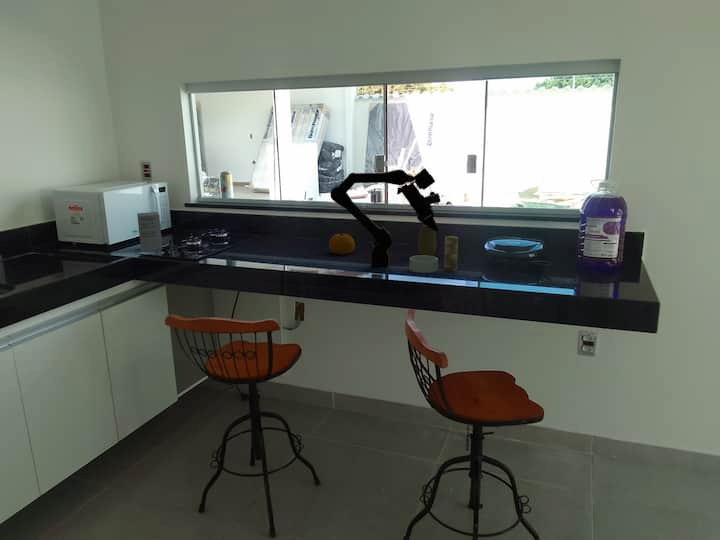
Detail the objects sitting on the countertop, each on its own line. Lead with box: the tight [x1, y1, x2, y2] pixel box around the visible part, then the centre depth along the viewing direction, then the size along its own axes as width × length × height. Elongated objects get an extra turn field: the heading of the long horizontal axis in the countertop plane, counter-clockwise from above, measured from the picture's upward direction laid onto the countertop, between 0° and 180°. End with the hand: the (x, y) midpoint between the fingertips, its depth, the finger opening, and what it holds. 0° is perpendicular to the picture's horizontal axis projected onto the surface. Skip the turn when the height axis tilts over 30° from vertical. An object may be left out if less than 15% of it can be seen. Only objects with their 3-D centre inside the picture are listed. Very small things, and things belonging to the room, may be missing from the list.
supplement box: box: [136, 211, 164, 252], centre depth 259 cm, size 10×9×17 cm
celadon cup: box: [408, 254, 439, 274], centre depth 219 cm, size 11×11×4 cm
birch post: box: [443, 235, 459, 272], centre depth 217 cm, size 5×5×13 cm
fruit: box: [328, 231, 356, 256], centre depth 248 cm, size 12×12×10 cm
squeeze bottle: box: [417, 223, 437, 256], centre depth 242 cm, size 8×8×18 cm
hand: (436, 229), depth 221 cm, fingers open, 9 cm apart
